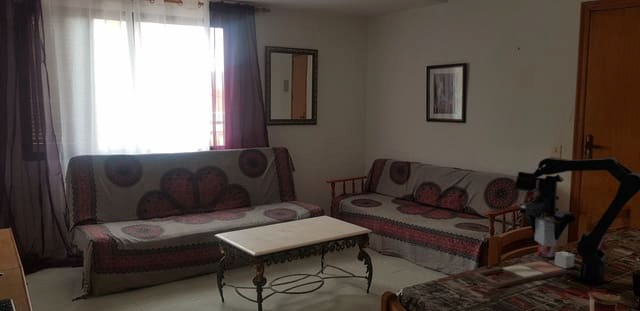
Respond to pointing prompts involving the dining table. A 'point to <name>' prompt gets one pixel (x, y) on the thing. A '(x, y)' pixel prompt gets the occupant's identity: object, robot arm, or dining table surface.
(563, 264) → the die
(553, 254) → the beverage can
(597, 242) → the robot arm
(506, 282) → the board
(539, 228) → the medicine box
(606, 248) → the dining table surface
